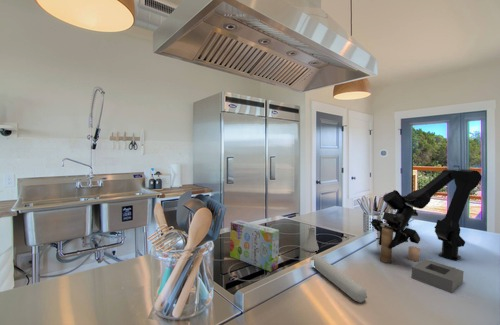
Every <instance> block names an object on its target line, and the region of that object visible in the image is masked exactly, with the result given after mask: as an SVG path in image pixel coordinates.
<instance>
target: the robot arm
mask: <svg viewBox="0 0 500 325" xmlns="http://www.w3.org/2000/svg"><path fill="white" fill-rule="evenodd" d="M453 180H454V184H455V190H454V192H453V196H452V199H451V201H450V204H449V206H448V209H447V212H446V214H445V217H444V218H443V219H441V220H440V219H437V221H436V224H435V226H434V227H433V228H434V233H435V234H436V236H437V237H436V238H437V240H440V241H441V243H442V244H441V252H440V253H438V257H443V258H447V259H450V260H452V261H453V260H454V261H458V260H459V259H461V256H462V255H459V248H461V247H464V246H465V244H466V241H465V240H464V239H463V237H461V234H460V233H461V226H460V221H461V218H462V215H463V212H464V210H465V207H466V204H467V201H468V200H469V196H470V193H471V192H472V191H473V190H475V188H477V187H478V186H479V184H480V182H481V181H482V175H481V172H479V170H474V169H462V168H461V169H459V170H455V169H448V168H445V169H443V170H441V173H439V174H438V175H437V176H436V177H434V178H433V179H432V180H430V181H429V182H428V183H427V184H425V185H424V186H422V188H419V189H416V190H413V191H411V192H409V193H408V194H406V195H402V194H400V192H399V191H398V190H396V189H394V190H392V191H390V192H388V193H386V194H385V195H384V196H383V198H382V200H383V202H384V203H386V204H387V206H389V208H391V209H392V211H393V210H394V211H396V212H395V213H391V212H388V211H384V213H383V216H382V220H385V223H386V224H385V223H384V222H383V221H382V220H380V219H377V218H373V219H372V220H371V222H370V224H371V225H372V227H373V228H374V230H375V231H378V232H379V238H378V239H379V240H378V244H379V246H381V238H382V227H389V228H392V229H393V233H395V234H394V236H393V239H392V242H391V243H390V245H389V249H392V250H393V248H395V247H397V246H399V245H400V244H404V243H408V242H409V241H410V242H411V243H414V244H417V245H419V243H420V241H421V237H420V235H419V233H418V232H417V230H416V229H412V228H408V227H409V226H410V224H409V221H410V220H411V218H412V217H418V216H419V214H418V212H417V209H418V210H419V209H420V210H422V209H424V208H425V207H427V205H428V204H429V203H430V202H431V200H432V197H433V196H434V195H435V194H436V193H438V192H439V191H441V190H442V189H443V188H444V187H446V186H447V185H448V184H449V183H450V182H452V181H453ZM414 208H416V209H414Z"/></svg>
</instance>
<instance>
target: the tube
mask: <svg viewBox="0 0 500 325" xmlns="http://www.w3.org/2000/svg"><path fill="white" fill-rule="evenodd" d="M311 260H314V266H315V268H314V269H315V270H317V271H318V272H319V273H320V274H321V275H323V276H324V277H325V278H326V279H328V281H330V282H331V283H333V284H334V285H335V286H336V287H338V288H339V289H340V290H341V291H342V292H344V293H345V294H346V295H347V296H349V297H350V298H351V299H352V300H354V301H355V302H356V301H357V303H363V302H365V300H367V299H368V294H367V289H365V287H363V286H361V285H360V284H359V283H358V282H356V281H355V280H353V279H352V278H351V277H350V276H348V275H346V274H345V273H344V272H342V271H341V270H339V269H338V268H336V267H335V266H334V265H332V263H329V262H328V261H327V260H325V259H324V258H323V257H322V255H319V254H314V255H312V257H311V258H310V261H311Z"/></svg>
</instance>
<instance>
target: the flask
mask: <svg viewBox="0 0 500 325" xmlns="http://www.w3.org/2000/svg"><path fill="white" fill-rule="evenodd" d="M307 229H308V235H307V238H306V241H305V243H304V246H303V248H302V250H303V251H306V252H309V253H310V252H311V253H316V252H315V251H317V252H319V251H320V247H319V244H318V242H317V238H316V233H315V232H316V227H314V226H313V227H312V226H309V227H308V228H307ZM318 250H319V251H318Z"/></svg>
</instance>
